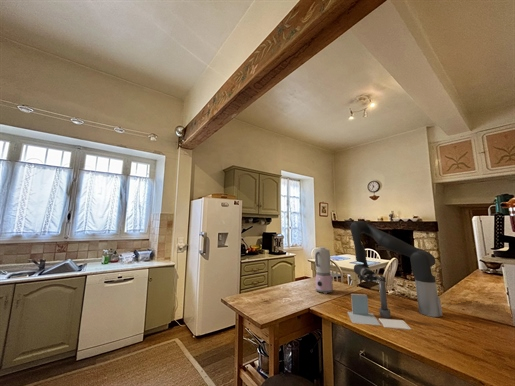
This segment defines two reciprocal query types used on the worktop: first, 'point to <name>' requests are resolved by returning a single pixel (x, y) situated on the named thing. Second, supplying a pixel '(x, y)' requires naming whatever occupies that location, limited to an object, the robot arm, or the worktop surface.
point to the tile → (359, 304)
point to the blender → (323, 270)
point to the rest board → (394, 324)
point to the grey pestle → (383, 301)
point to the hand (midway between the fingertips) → (375, 281)
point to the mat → (363, 319)
